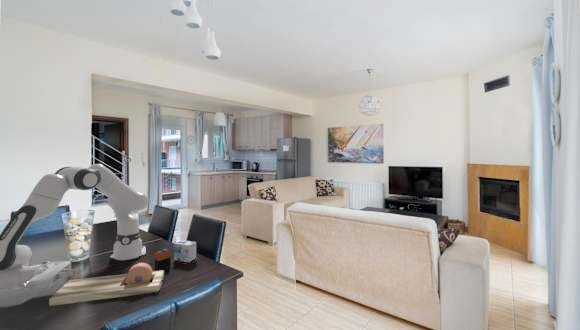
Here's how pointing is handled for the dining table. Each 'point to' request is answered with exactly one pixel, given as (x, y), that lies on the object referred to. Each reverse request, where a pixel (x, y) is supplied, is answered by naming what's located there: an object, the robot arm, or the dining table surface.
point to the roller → (139, 274)
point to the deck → (103, 288)
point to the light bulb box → (185, 251)
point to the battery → (162, 259)
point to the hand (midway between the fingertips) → (74, 272)
